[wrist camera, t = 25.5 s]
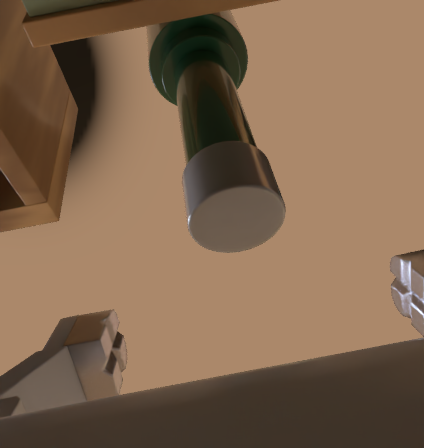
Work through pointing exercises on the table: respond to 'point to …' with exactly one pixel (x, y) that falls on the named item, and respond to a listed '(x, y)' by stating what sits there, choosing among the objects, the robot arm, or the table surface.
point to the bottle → (215, 132)
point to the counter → (110, 16)
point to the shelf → (31, 126)
